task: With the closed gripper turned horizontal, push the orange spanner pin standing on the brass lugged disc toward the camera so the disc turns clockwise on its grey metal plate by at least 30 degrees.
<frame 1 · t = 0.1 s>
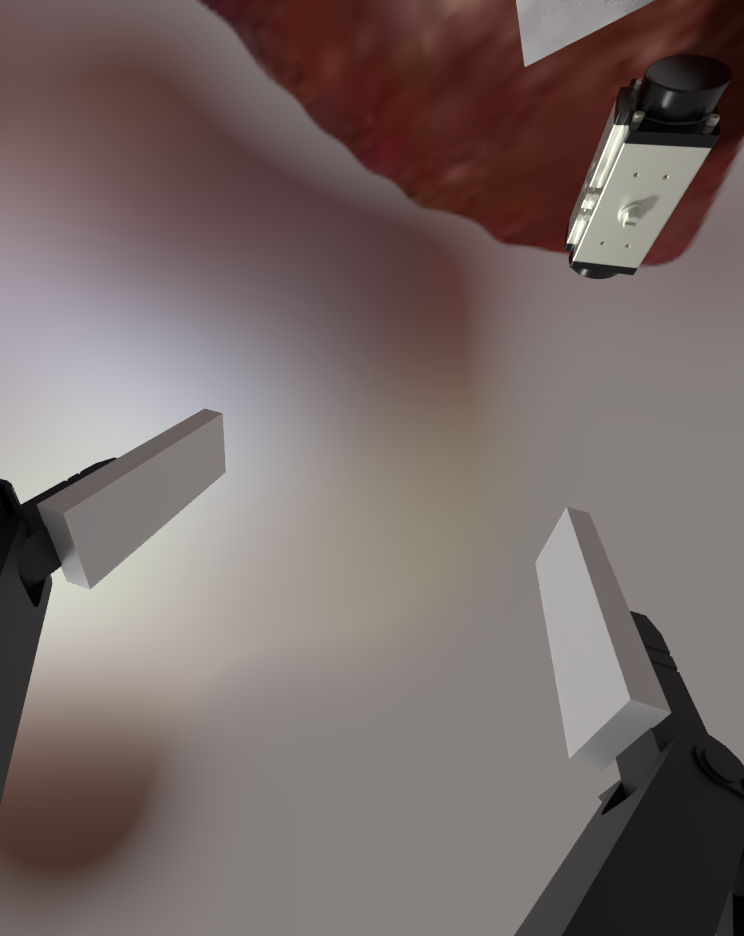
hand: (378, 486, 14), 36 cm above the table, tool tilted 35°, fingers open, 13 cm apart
pneumatic valve: (629, 124, 30), on the table
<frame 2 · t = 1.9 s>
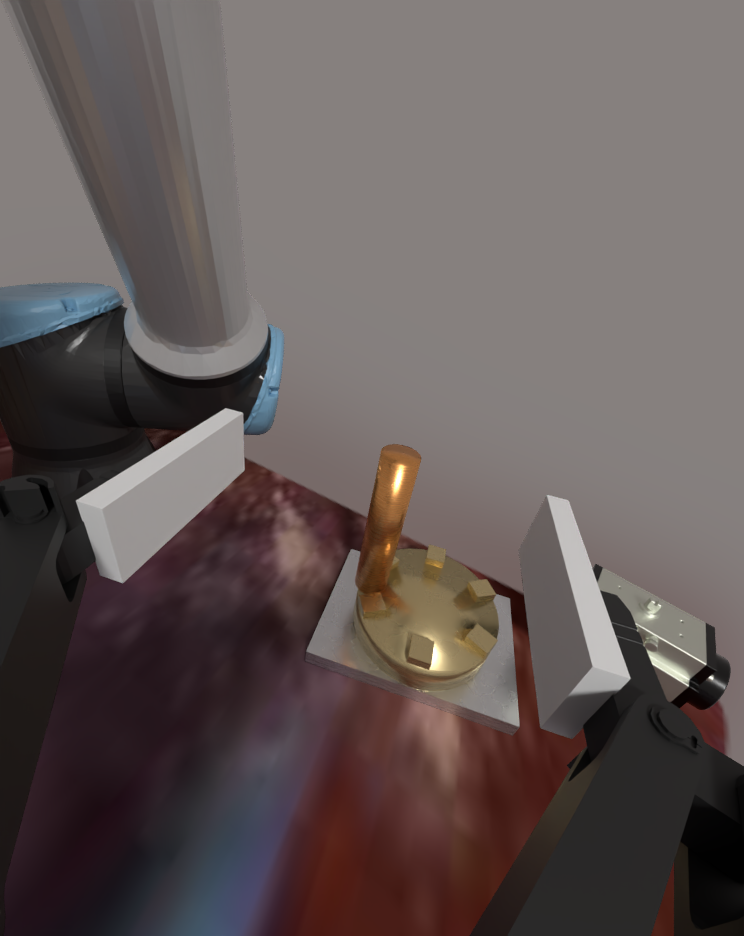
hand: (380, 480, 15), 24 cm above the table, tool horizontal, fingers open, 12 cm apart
pneumatic valve: (582, 687, 35), on the table
brass lugged disc: (440, 557, 32), point 10 cm above the table, hinge at 0.0°
flange plate: (416, 631, 37), on the table
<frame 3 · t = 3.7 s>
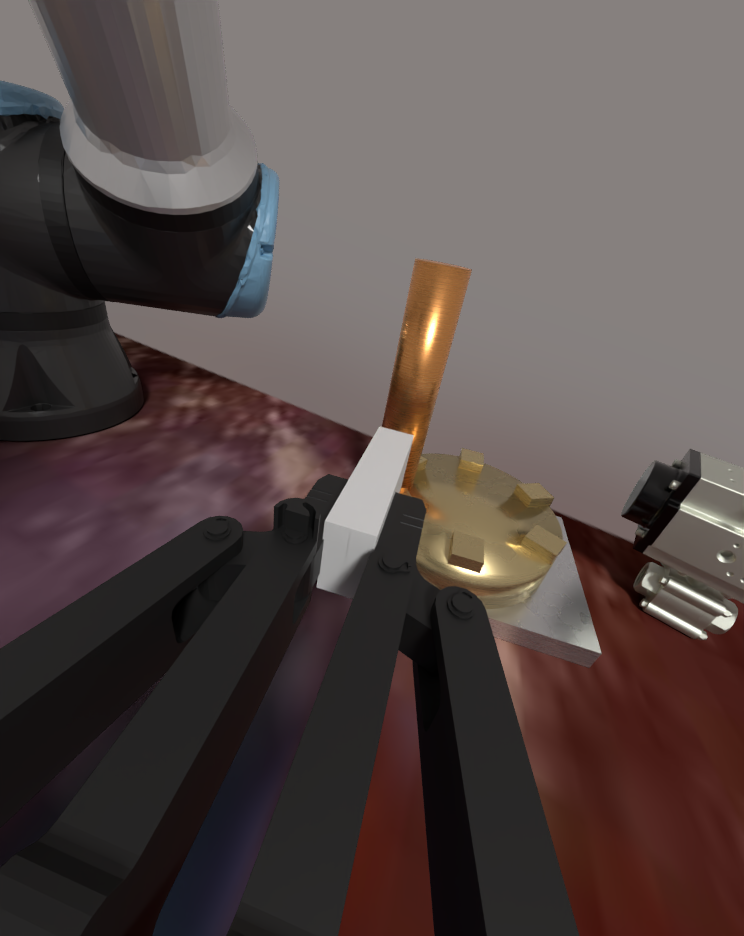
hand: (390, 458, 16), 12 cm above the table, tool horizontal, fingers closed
pneumatic valve: (665, 617, 27), on the table
brass lugged disc: (489, 432, 24), point 10 cm above the table, hinge at 0.0°
flange plate: (449, 550, 29), on the table
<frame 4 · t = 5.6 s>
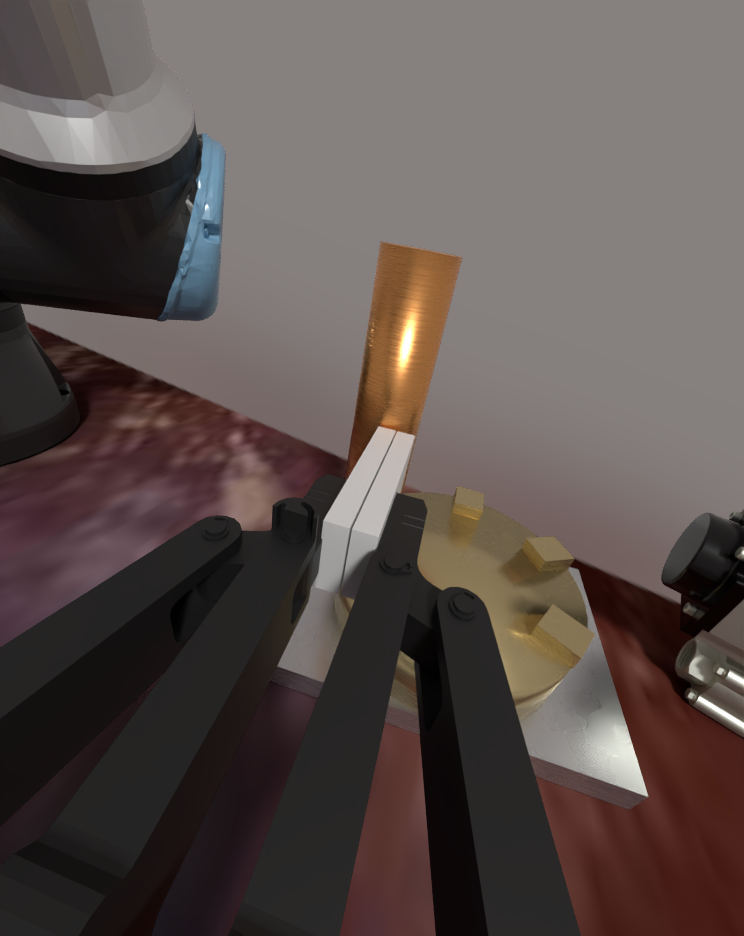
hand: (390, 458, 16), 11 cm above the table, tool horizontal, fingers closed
pneumatic valve: (719, 711, 21), on the table
brass lugged disc: (489, 481, 17), point 10 cm above the table, hinge at 1.5°, touching gripper
flange plate: (438, 619, 23), on the table
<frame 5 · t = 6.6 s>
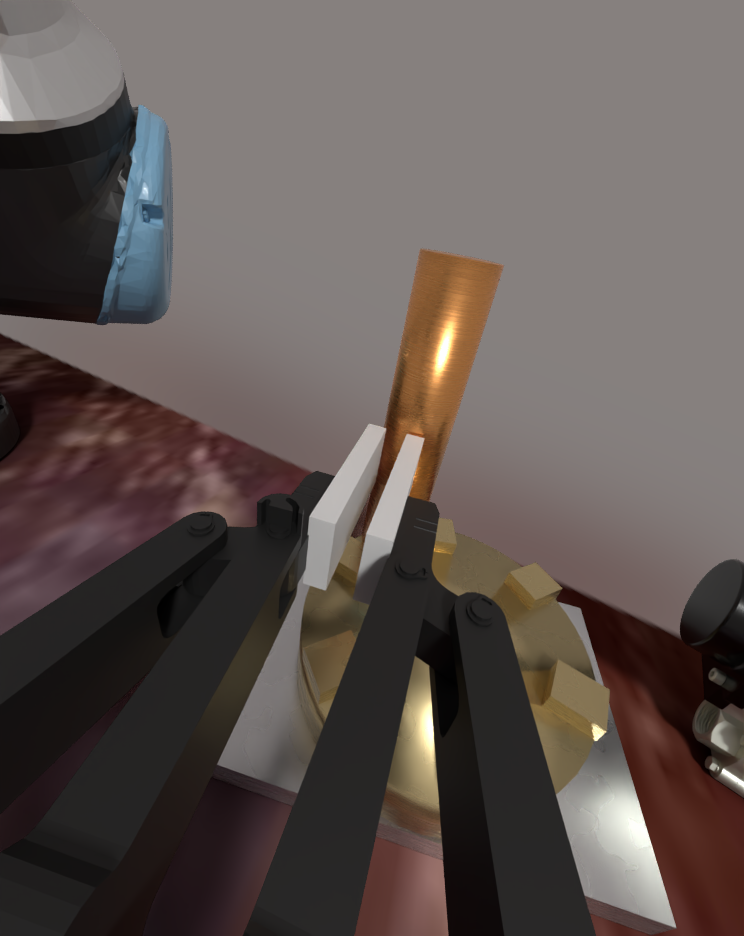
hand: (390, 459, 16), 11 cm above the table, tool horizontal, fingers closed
brass lugged disc: (481, 532, 14), point 10 cm above the table, hinge at 50.2°, touching gripper
flange plate: (422, 678, 20), on the table
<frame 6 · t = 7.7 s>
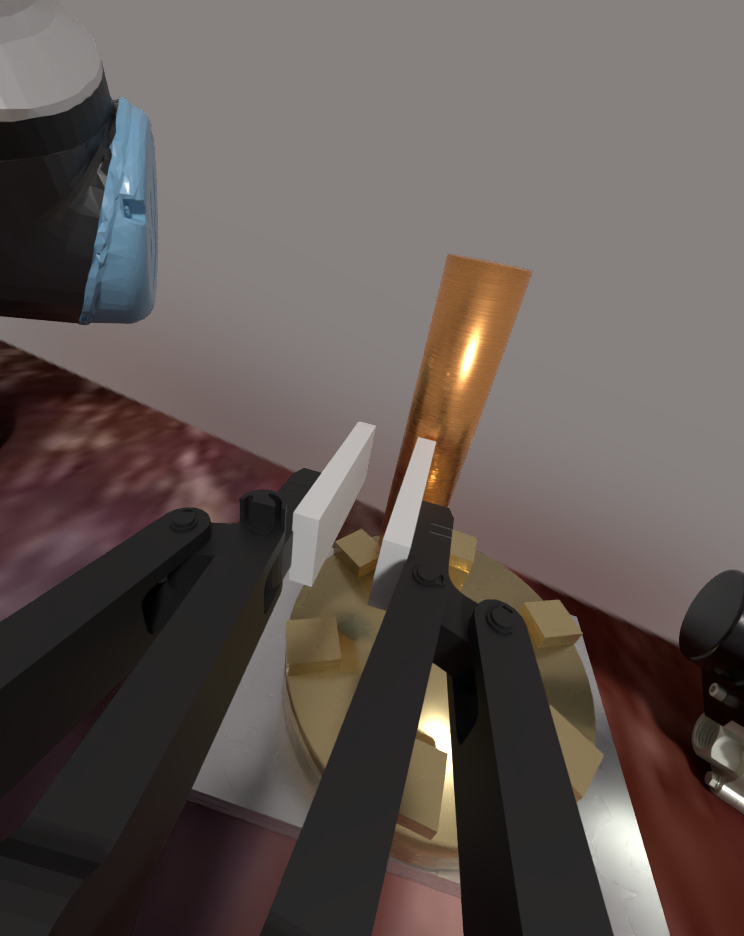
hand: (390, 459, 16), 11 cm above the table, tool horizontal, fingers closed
brass lugged disc: (475, 544, 14), point 10 cm above the table, hinge at 66.3°, touching gripper
flange plate: (414, 692, 19), on the table
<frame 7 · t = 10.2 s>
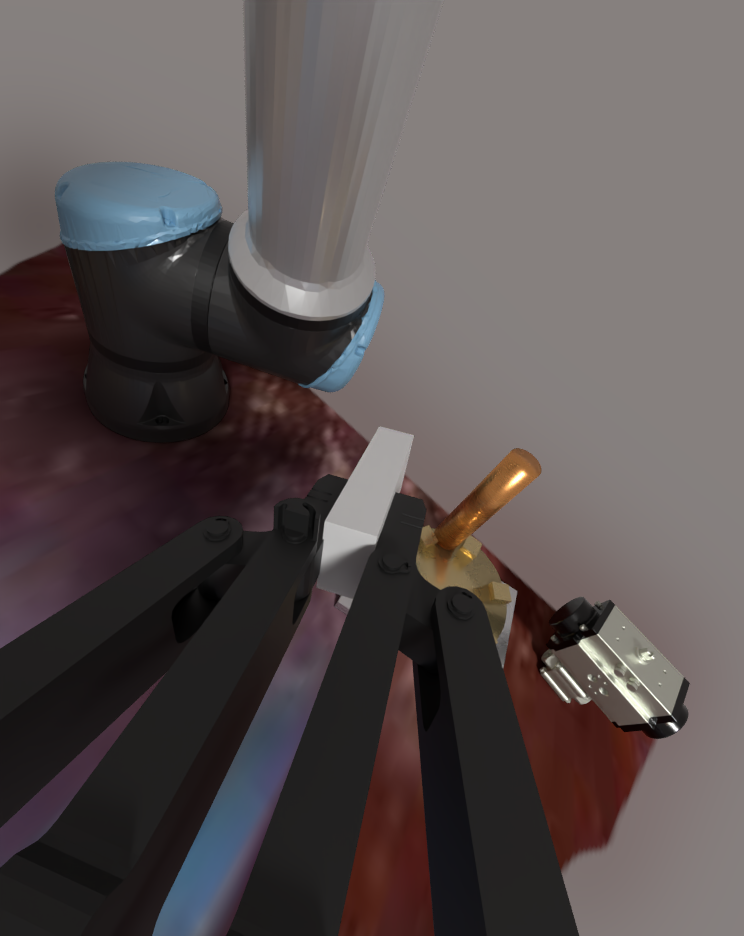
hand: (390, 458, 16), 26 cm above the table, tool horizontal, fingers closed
pneumatic valve: (553, 680, 41), on the table
brass lugged disc: (479, 561, 35), point 10 cm above the table, hinge at 66.3°
flange plate: (430, 600, 42), on the table
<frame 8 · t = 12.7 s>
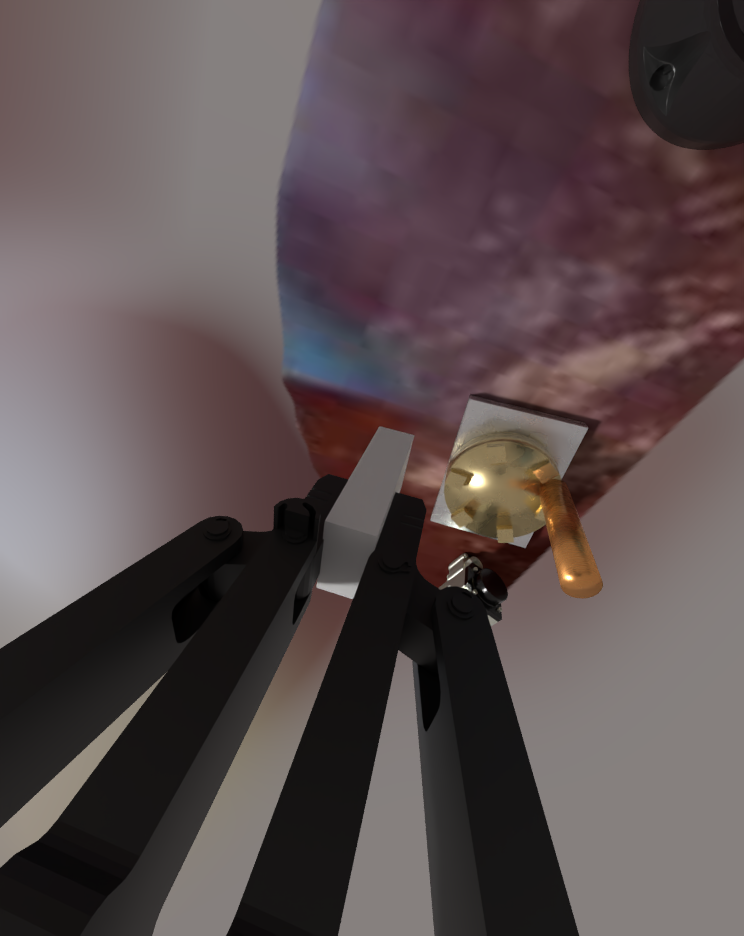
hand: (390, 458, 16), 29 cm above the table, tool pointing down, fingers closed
pneumatic valve: (462, 561, 56), on the table
brass lugged disc: (505, 522, 39), point 10 cm above the table, hinge at 66.3°
flange plate: (499, 473, 47), on the table
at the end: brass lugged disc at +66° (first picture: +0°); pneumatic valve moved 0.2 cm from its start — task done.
